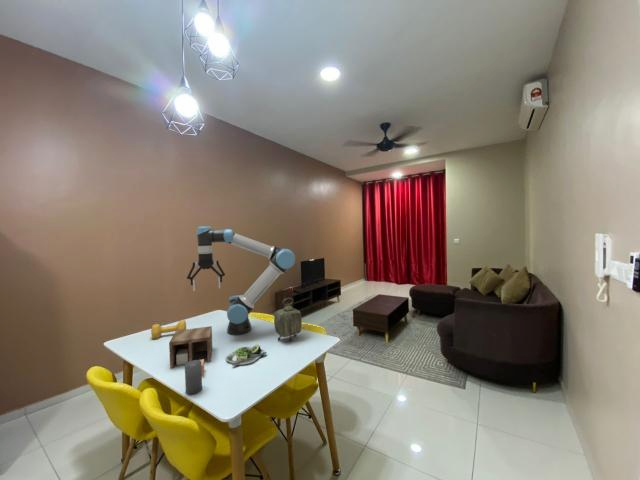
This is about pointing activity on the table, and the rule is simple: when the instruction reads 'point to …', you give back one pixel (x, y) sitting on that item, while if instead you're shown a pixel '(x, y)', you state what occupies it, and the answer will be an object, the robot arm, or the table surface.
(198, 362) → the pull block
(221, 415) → the table surface
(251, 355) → the avocado toast plate
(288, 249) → the robot arm
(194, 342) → the lane shelf
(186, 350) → the grey lane block
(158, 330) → the dumbbell
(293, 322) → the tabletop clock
